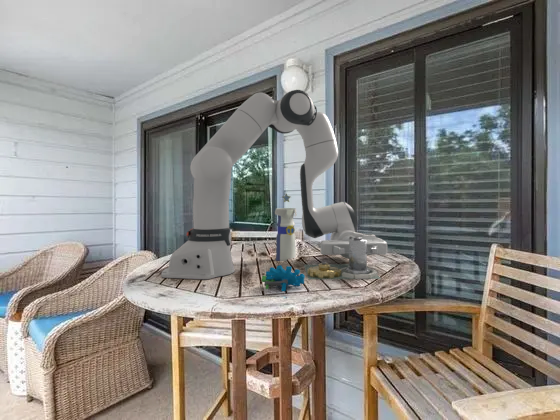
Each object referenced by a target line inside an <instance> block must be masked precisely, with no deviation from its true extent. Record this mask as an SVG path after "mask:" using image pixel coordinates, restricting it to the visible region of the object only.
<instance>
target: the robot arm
mask: <svg viewBox="0 0 560 420" xmlns="http://www.w3.org/2000/svg"><path fill="white" fill-rule="evenodd" d="M268 128H270V129H272V130H274V131H276V133H280V134H283V135H286V134H290V133H292V132H294V131H295V130H296V131H297V133H298V134H299V135H300V136H301V138H302V141H303V146H304V151H305V159H304V162H303V164H301V165H300V171H299V172H300V173H299V179H300V196H301V197H300V198H301V207H302V208H301V210H302V214H301V225H302V231H304V234H305V235H306V236H308V237H310V238H312V239H317V238H319V237H323V236H325V235H328V234H330V238H329V240H328V239H326V240H321V241H320V243H318V244H317V248H319V249H320V254H321V255H325V256H333V255H335V256H336V255H337V256H341V257H342V258H344V259H348V260H349V239H354V237H361V238H362V239H366V240H367V256H373V255H387V254H388V242H387V241H386V240H384V239H382V238H379V237H377V236H376V235H375V234H373V233H372V234H371V233H360V232H357V228H358V219H357V215H356V213H355V210H354V209H353V207H352V206H351V205H350V204H348V203H347V202H346V201H340V202H336V203H332V204H330V205H325V206H321V207H318V208H316V207H314V195H313V185H314V184H313V183H314V182H315V180H317V178H318V177H320V176H321V174H324V173H325V172H326V171H328V170H329V169H330V168H331V167H332V166H333V165H335V163H336V162H337V159H338V158H339V157H338V156H339V149H338V144H337V139H336V136H335V132H334V130H333V127H332V124H331V122H330V119H329V117H328V115H326V113H324V112H320V111H318V109H317V106H316V105H315V104H314V102H313V99H312V98H311V96H310V95H309V94H308V93H307V92H305V91H304V90H301V89H293V90H291V91H288V92H286V93H285V94H284V95H283V96H282V97H281V98H280V99H279V100H276V99H273V98H272V97H271V96H270V95H268V94H267V93H265V92H260V91H259V92H256V93H254V94H252V95H251V96H250V97H248V98H247V99H246V100H244V102H243V103H241V105H240V106H239V107H238V108H237V109H236V110H235V111H234V112H233V113H232V115H230V117H228V119H227V120H226V121H225V122H224V123H223V124H222V126H221V127H220V128H219V129H218V130H217V131H216V132H215V134H214V135H213V136H212V137H211V138H210V139H209V140H208V141H207V142H206V144H205V145H204V146H203V147H202V148H201V149H200V150H199V151H198V153H196V155H194V156H193V158H192V160H191V162H190V173H191V176H192V178H193V199H192V200H193V201H192V217H193V219H192V220H193V228H191V229H189V230H188V231H187V232H186V238H187V241H186V242H185V243H183V244H182V245H181V246H180V247H179V248H177V249H175V251H173V252H172V254H171V255H170V258H169V261H168V267H167V268H165V269H163V270H162V271H161V275H160V276H161V277H162V278H164V279H165V278H167V279H187V280H188V279H189V280H210V279H211V280H212V279H214V278H216V277H217V278H218V277H223V276H228V275H231V274H233V273H234V272H236V269H235V266H234V262H233V257H232V252H231V244H232V231H231V227H230V213H229V212H230V209H229V205H230V193H231V184H232V183H231V182H232V170H233V169H232V168H233V166H234V165H235V164H236V163H237V162H238V161H239V160H240V159H241V158H242V157H243V156H244V155H245V154H246V153H247V152H248V151H249V149H250V148H251V147H252V146H253V145H254V144H255V142H256V141H257V140H258V139H259V138H260V136H261V135H262V134H263V133H264V132H265V131H266V129H268Z"/></svg>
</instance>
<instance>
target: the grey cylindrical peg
mask: <svg viewBox="0 0 560 420" xmlns="http://www.w3.org/2000/svg"><path fill="white" fill-rule="evenodd" d="M348 264H349V267H347V268H346V269H345V273H350V274H369V273H371V269H372V268H371V269H368V268H369V267H368V255H367V240H366V239H362V238H361V237H354V239H349V259H348ZM367 267H368V268H367Z"/></svg>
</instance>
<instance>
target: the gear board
mask: <svg viewBox="0 0 560 420" xmlns="http://www.w3.org/2000/svg"><path fill="white" fill-rule="evenodd" d="M319 264H320V263H318V264H303V266H304V270H305V273H306V277H307V279H308V280H356V279H355V278H353V279H352V278H347V277H343V276H342V273H341V275H340V277H334V278H323V279H322V278H317V277H310V275H308V274H307V269H309V268H310V267H315V266H319ZM329 264H330V263H329ZM330 267H337V268H338V269H341V268H345V267H349V263H343V264H342V263H339V264H338V263H337V264H336V263H334V264H333V263H331V264H330ZM367 268H369V267H368V266H367ZM377 279H379V280H381V279H382V278H381V277H380V276H379V275H378V274H377V276H376V277H373V278H369V279H368V280H377Z"/></svg>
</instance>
